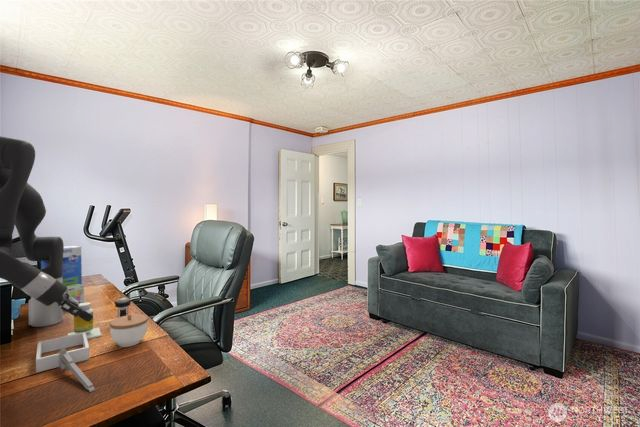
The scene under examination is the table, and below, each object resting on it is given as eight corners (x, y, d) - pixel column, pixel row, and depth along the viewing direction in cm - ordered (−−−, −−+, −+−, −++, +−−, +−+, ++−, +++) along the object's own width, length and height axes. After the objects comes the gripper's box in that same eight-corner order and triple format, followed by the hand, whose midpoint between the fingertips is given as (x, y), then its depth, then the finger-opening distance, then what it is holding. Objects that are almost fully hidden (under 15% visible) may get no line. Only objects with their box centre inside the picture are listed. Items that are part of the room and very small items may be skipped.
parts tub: (36, 372, 84) (35, 359, 84) (38, 353, 95) (38, 341, 95) (89, 359, 92) (89, 347, 92) (85, 342, 103) (85, 332, 103)
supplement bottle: (76, 329, 110) (76, 302, 109) (94, 327, 112) (94, 300, 112) (71, 335, 105) (71, 307, 105) (91, 333, 107) (91, 305, 107)
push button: (110, 329, 114) (110, 302, 114) (110, 325, 118) (110, 298, 118) (131, 325, 118) (131, 299, 117) (130, 321, 122) (130, 296, 122)
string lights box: (74, 297, 153) (73, 245, 153) (82, 299, 150) (82, 246, 149) (40, 305, 141) (39, 248, 141) (49, 307, 138) (48, 249, 137)
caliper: (58, 369, 87) (58, 346, 87) (63, 367, 88) (63, 345, 87) (90, 393, 76) (89, 367, 75) (95, 391, 76) (95, 365, 76)
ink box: (68, 311, 134) (67, 280, 133) (61, 310, 135) (61, 279, 135) (84, 306, 140) (84, 276, 140) (78, 305, 141) (78, 276, 141)
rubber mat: (68, 343, 102) (68, 342, 102) (67, 334, 109) (67, 333, 109) (101, 336, 108) (101, 334, 108) (98, 328, 115) (98, 327, 115)
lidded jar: (108, 341, 104) (107, 313, 103) (144, 333, 110) (144, 307, 110) (112, 353, 95) (112, 323, 95) (151, 344, 102) (151, 315, 102)
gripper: (55, 283, 98) (101, 313, 106) (55, 275, 109) (97, 303, 117) (32, 303, 94) (82, 332, 102) (34, 293, 105) (79, 320, 113)
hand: (90, 316), depth 109 cm, fingers closed on supplement bottle, 5 cm apart
